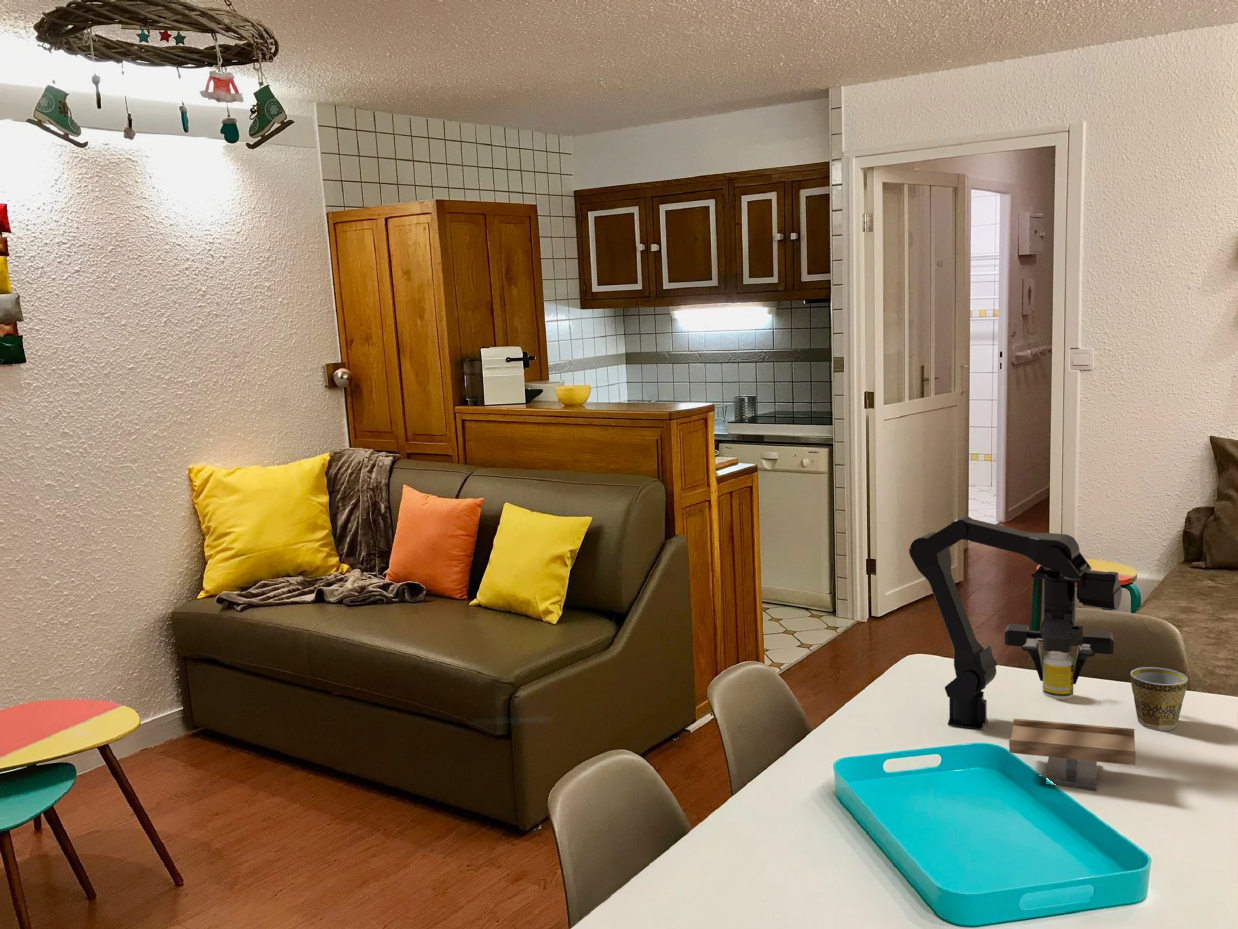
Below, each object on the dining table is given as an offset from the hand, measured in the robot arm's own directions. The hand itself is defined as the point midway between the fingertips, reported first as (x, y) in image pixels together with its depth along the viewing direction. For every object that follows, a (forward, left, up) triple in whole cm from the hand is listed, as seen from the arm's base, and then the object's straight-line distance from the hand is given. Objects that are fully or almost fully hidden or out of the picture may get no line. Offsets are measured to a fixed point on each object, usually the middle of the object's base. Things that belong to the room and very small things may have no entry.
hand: (1057, 682), depth 194 cm
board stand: (+3, -14, -12) cm, 19 cm away
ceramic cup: (+17, +16, -12) cm, 26 cm away
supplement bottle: (0, 0, -3) cm, 3 cm away
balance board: (+3, -14, -7) cm, 16 cm away
